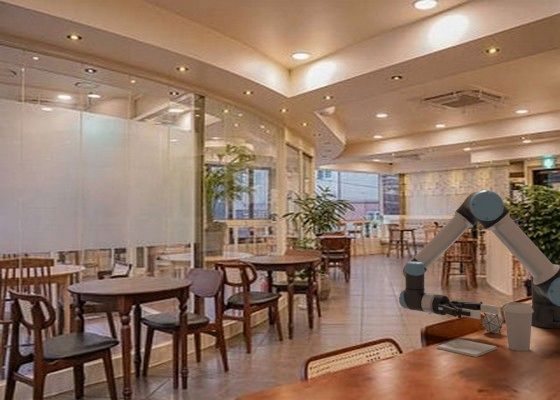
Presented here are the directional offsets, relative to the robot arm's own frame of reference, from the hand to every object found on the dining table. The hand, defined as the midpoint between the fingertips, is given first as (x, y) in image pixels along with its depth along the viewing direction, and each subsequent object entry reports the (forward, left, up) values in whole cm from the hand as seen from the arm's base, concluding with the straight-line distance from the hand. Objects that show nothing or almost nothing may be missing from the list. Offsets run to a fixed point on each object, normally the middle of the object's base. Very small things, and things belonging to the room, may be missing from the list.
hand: (489, 312), depth 174 cm
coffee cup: (0, +10, -11) cm, 15 cm away
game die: (-14, -6, -11) cm, 19 cm away
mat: (+13, -2, -11) cm, 17 cm away
